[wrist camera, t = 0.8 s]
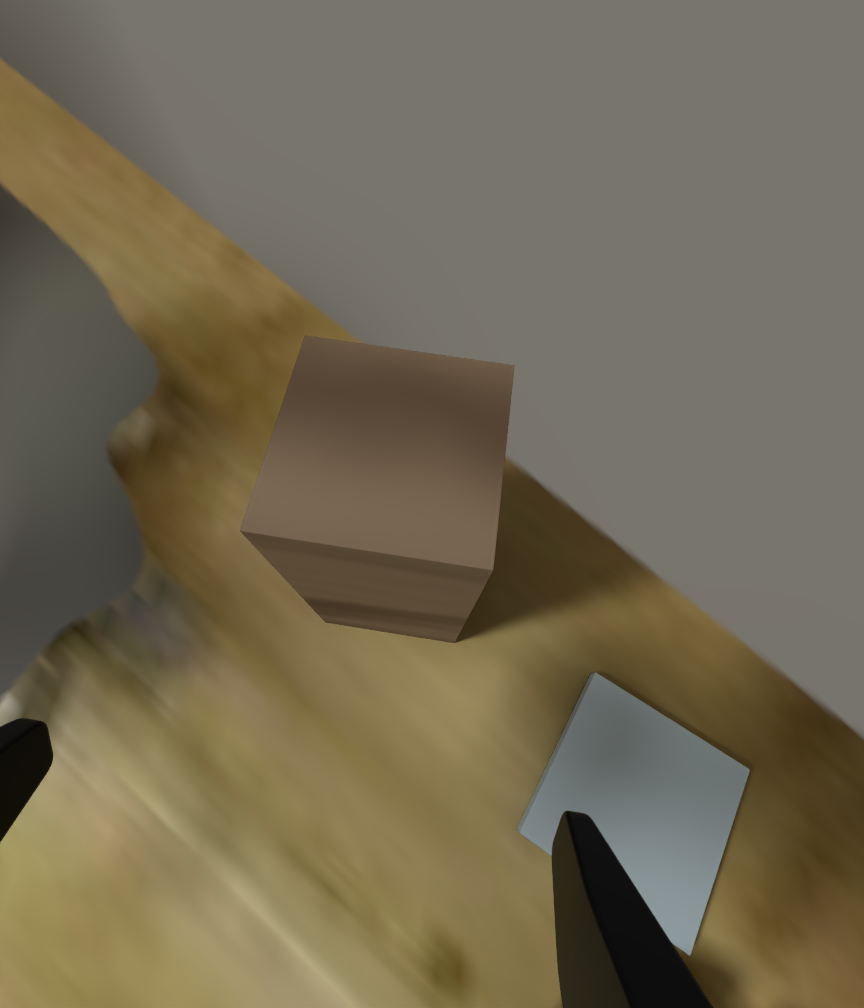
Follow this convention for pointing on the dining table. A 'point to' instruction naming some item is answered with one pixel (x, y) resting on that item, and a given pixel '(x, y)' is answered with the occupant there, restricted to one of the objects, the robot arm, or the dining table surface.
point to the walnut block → (385, 485)
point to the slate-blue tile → (643, 800)
